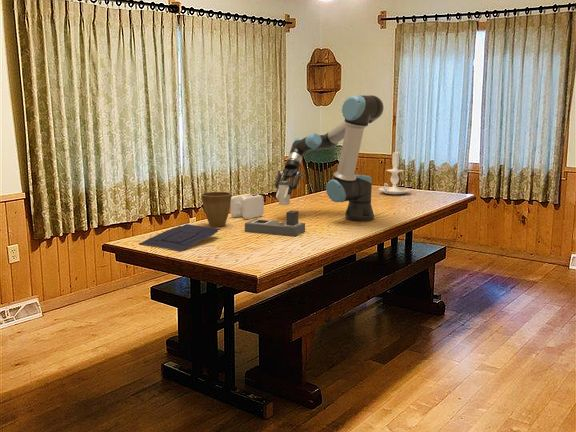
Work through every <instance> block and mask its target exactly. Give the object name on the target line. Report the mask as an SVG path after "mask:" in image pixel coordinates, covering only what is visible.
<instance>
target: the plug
mask: <svg viewBox="0 0 576 432" xmlns="http://www.w3.org/2000/svg"><path fill="white" fill-rule="evenodd" d="M280 181H281V180H280ZM289 184H290V180H286V181H281V182H279V200H278V206H284V207H285V206H289V205H290V204H291V194H289V196H288V199H287V200H285V198H284V196H285V193H286V190H287V187H289Z"/></svg>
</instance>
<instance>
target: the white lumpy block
mask: <svg viewBox="0 0 576 432" xmlns="http://www.w3.org/2000/svg"><path fill="white" fill-rule="evenodd" d="M264 200H265V199H264V196H263V195H260V194H259V195H253V194H251V193H243V194H238V195H232V196H231V203H230V216H231V217H233V218H234V217H235V218H240V217H241V216H242V218H244V219H246V220H251V219H252V218H253V219H254V218H256V217H257V218H260V217H262V216H263V215H264V212H265V211H264ZM253 219H252V220H253Z"/></svg>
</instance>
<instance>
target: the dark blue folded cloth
mask: <svg viewBox="0 0 576 432" xmlns="http://www.w3.org/2000/svg"><path fill="white" fill-rule="evenodd" d="M219 231H221V228H218V227H217V228H216V227H211V226H210V227H208V226H201V225H195V224H187V223H186V224H183V225H178V226H177V227H173V228H170V229H167V230H165V231H163V232H160V233H159V234H157V235H154V236H152V237H150V238H147V239H146V240H144V241H142V242H140V243H139V245H142V246H143V245H144V246H149V247H155V248H156V247H157V248H163V249H166V250H167V249H168V250H172V251H177V252H182V251H184V250H187V249H188V248H190V247H192V246H194V245H195V244H197V243H199V242H201V241H203V240H205V239H208V238H209V237H212V236H214V235H216V234H217V233H219Z"/></svg>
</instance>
